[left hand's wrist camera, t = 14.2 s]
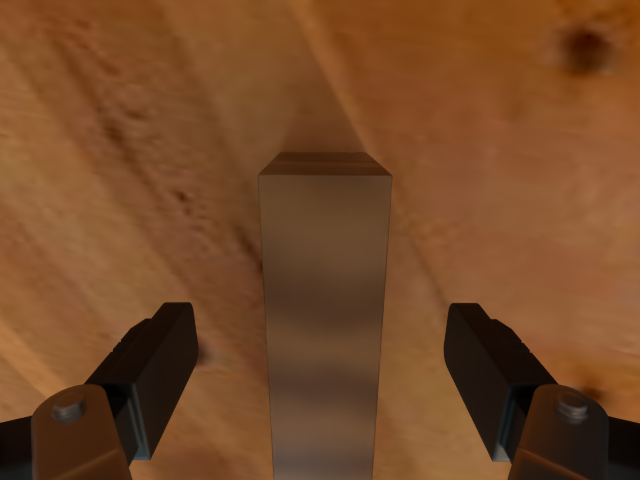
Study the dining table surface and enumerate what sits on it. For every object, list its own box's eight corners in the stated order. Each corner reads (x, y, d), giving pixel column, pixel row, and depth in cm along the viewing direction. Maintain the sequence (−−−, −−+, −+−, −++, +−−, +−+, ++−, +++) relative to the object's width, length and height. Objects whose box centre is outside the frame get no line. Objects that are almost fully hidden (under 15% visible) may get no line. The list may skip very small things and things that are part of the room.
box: (280, 152, 25) (257, 174, 16) (366, 152, 25) (392, 174, 16) (288, 406, 32) (275, 520, 23) (355, 406, 32) (369, 520, 23)
